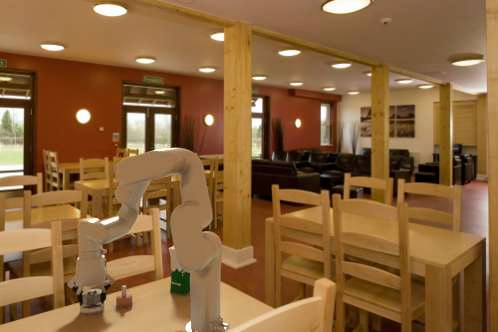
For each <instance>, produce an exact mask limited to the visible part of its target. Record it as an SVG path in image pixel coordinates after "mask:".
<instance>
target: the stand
mask: <svg viewBox="0 0 498 332" xmlns="http://www.w3.org/2000/svg"><path fill="white" fill-rule="evenodd" d="M115 302H116V303H115V307H116V308H117V309H127V308H130V307H132V305H133V294H131V293H127V285H122V286H121V294H119V295H117V296H116V297H115Z"/></svg>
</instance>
